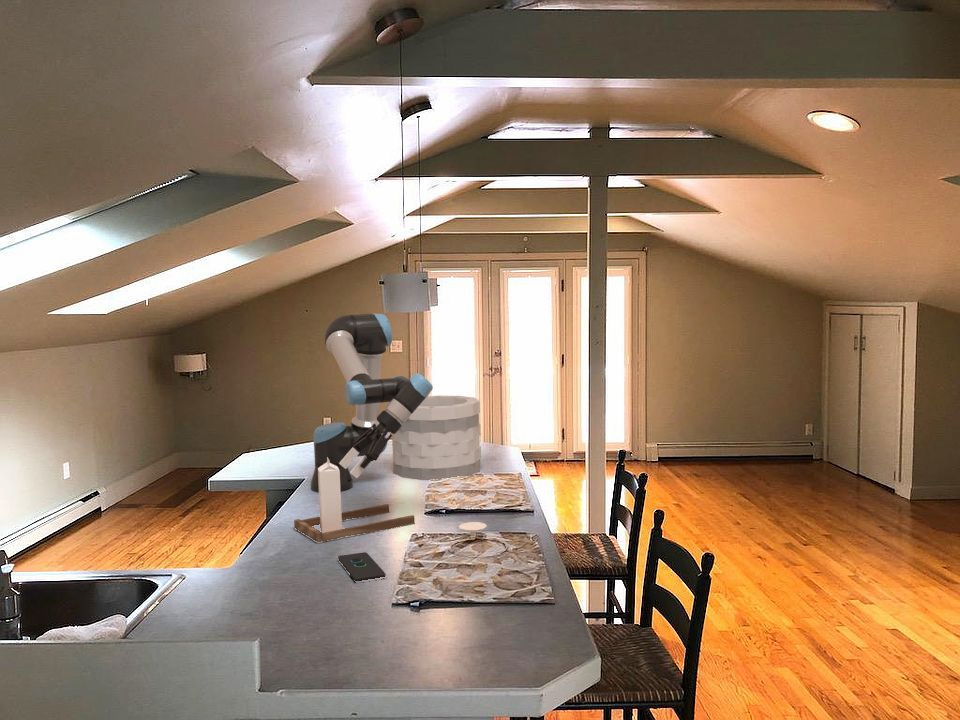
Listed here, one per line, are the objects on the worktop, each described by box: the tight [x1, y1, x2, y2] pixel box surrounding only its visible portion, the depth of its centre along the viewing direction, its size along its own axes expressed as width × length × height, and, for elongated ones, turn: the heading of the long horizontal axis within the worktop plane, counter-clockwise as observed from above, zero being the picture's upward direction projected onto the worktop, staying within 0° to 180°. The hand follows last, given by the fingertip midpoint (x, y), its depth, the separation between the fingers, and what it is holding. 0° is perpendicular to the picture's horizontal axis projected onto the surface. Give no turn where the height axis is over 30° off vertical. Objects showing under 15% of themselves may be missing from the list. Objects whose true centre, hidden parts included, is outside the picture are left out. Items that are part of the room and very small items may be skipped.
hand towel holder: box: [458, 521, 500, 539], centre depth 240 cm, size 17×4×21 cm
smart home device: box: [337, 551, 386, 581], centre depth 224 cm, size 8×2×20 cm
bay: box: [293, 503, 416, 542], centre depth 262 cm, size 18×32×3 cm, turn 124°
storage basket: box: [391, 395, 482, 481], centre depth 337 cm, size 35×35×27 cm
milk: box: [318, 457, 343, 533], centre depth 257 cm, size 6×6×22 cm
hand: (347, 470), depth 258 cm, fingers open, 13 cm apart
